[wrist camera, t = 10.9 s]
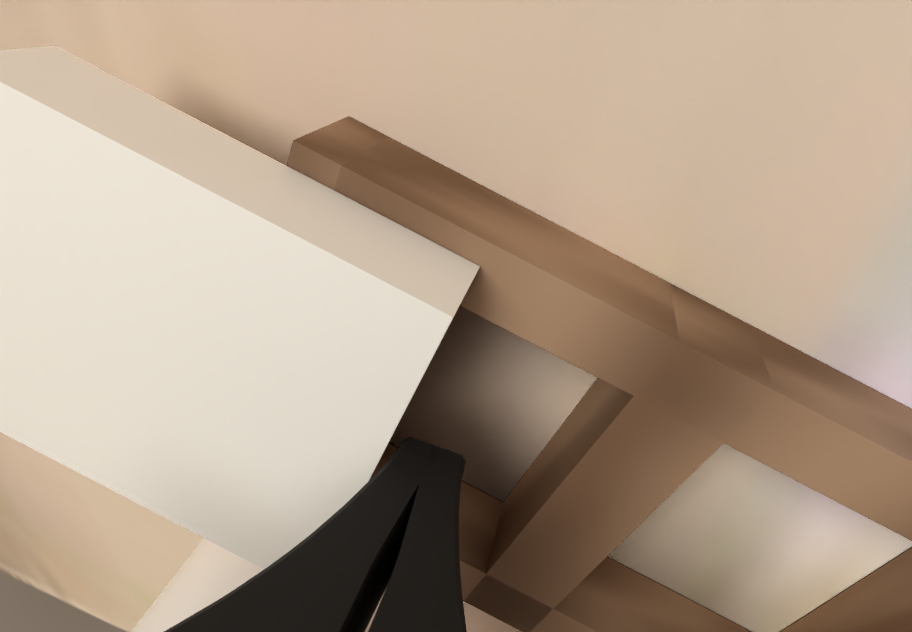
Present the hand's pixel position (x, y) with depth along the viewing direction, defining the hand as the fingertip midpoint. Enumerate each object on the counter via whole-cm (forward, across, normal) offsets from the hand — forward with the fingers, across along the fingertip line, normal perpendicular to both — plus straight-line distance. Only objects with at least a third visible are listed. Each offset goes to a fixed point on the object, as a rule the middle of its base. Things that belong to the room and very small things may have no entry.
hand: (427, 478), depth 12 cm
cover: (+1, +6, -1) cm, 6 cm away
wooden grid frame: (+4, -4, +1) cm, 5 cm away
